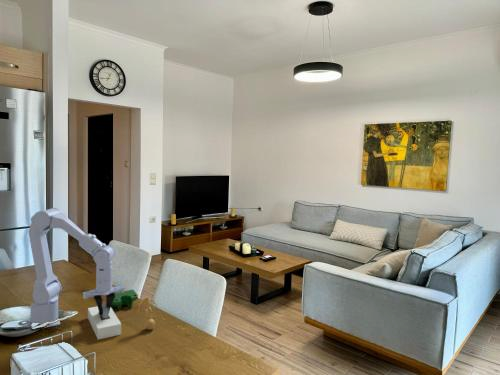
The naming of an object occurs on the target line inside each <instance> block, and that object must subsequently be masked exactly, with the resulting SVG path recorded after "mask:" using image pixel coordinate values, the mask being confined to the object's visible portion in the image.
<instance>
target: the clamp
mask: <svg viewBox="0 0 500 375" xmlns="http://www.w3.org/2000/svg"><path fill="white" fill-rule="evenodd" d="M138 299H139V295H138V294H137V292H136V291H135V290H134V289H129V290H124V293H121V292H120V293H115V299H114V300H113V302H112V304H111V308H112V309H114V308H117V309H118V310H119V311H121V310H122V306H126V305H127V306H129V307H130V308H132V307H133V302H134V301H137V300H138Z"/></svg>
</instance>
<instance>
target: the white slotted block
mask: <svg viewBox="0 0 500 375" xmlns="http://www.w3.org/2000/svg"><path fill="white" fill-rule="evenodd" d="M87 319H88V321H89V324H90V325H91V327H92V328H91V329H92V330H93V332H94V333H95V336H96V339H97V340H98V341H99V340H102V339H107V338H112V337H115V336H116V337H117V336H120V335H122V323H121V321H120V319H119V318H118V316H117V314H116V313H115V311H114V310H113V308H111V307H110V311H109V314H108V319H106V320H101V318H100V314H99V310H98V306H92V307H88V308H87Z"/></svg>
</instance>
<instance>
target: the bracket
mask: <svg viewBox="0 0 500 375" xmlns="http://www.w3.org/2000/svg"><path fill="white" fill-rule="evenodd" d="M108 314H109V308H108V306H107V304H106V301H104V302H102V315H100V318H101V320H106V319H108Z"/></svg>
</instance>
